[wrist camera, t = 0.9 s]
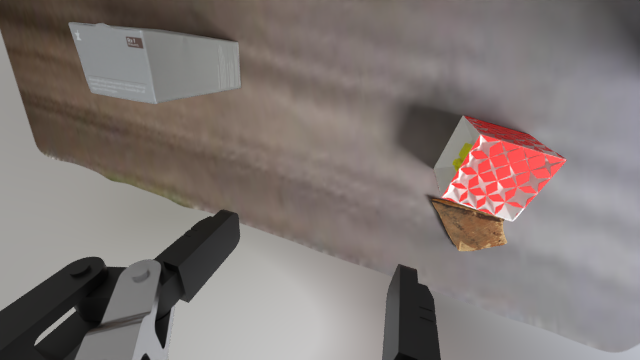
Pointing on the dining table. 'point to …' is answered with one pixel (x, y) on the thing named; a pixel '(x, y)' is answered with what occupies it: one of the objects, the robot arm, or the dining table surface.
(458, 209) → the shard
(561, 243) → the dining table surface
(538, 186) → the red white patterned cube
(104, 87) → the skincare box
